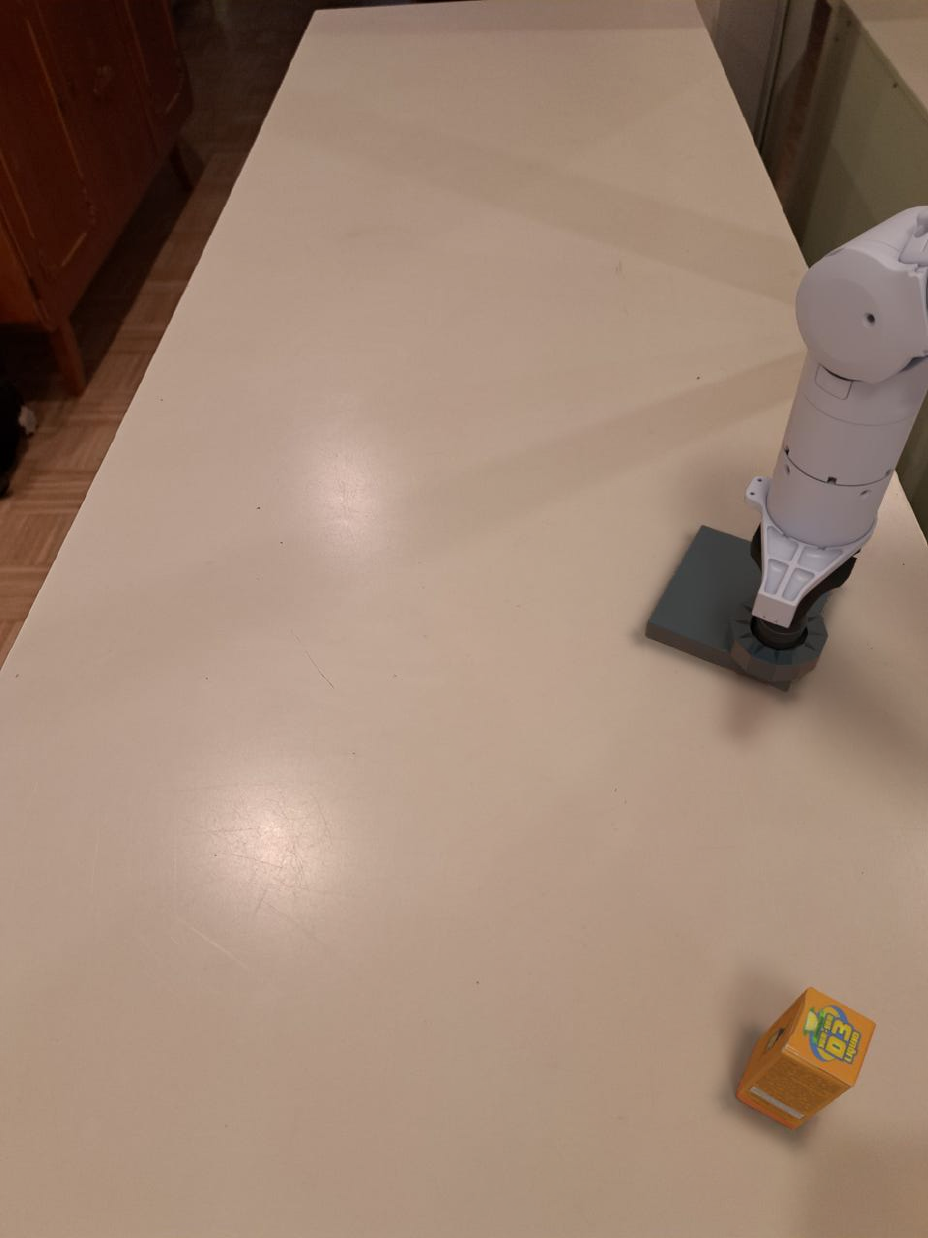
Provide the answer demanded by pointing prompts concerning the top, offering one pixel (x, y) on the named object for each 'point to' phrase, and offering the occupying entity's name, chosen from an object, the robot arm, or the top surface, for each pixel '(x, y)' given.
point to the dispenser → (729, 613)
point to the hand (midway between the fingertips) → (784, 610)
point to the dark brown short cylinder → (779, 633)
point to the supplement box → (806, 1059)
